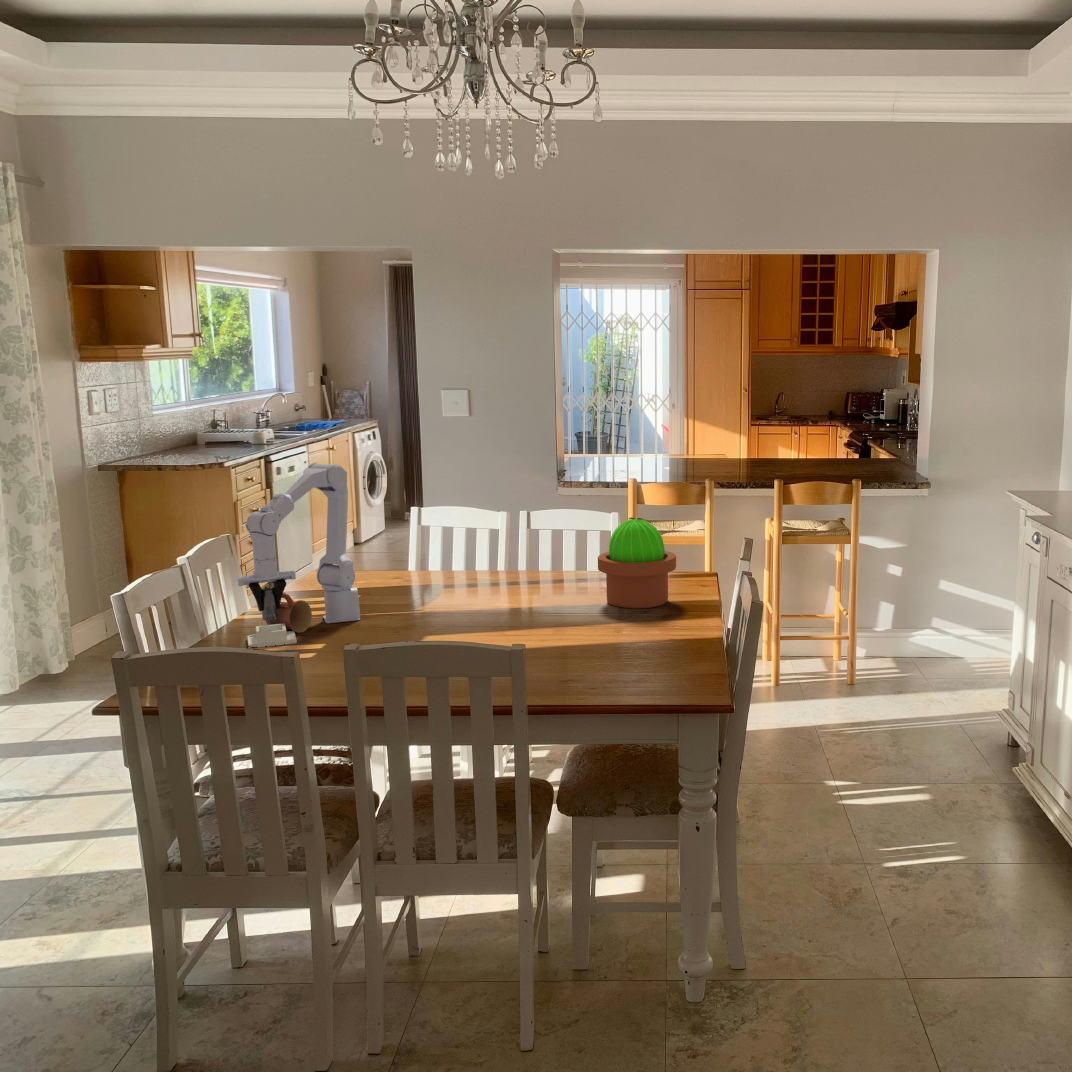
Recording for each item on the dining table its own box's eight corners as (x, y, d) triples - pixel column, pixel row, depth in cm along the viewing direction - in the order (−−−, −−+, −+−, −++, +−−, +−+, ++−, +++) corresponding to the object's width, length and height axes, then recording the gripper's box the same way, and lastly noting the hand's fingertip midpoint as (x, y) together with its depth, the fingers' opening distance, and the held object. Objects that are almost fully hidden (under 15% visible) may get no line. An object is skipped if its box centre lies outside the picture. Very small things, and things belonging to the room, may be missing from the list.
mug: (288, 617, 279) (316, 618, 274) (269, 637, 273) (298, 639, 268) (270, 583, 273) (298, 584, 268) (251, 603, 267) (279, 604, 262)
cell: (279, 616, 262) (276, 583, 260) (274, 620, 258) (272, 587, 257) (265, 616, 262) (262, 583, 261) (260, 620, 258) (257, 587, 257)
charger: (294, 634, 267) (293, 621, 267) (296, 643, 259) (295, 630, 258) (247, 639, 264) (246, 626, 263) (248, 648, 255) (247, 635, 255)
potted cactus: (650, 615, 275) (649, 525, 271) (584, 605, 288) (582, 519, 284) (689, 598, 292) (688, 513, 288) (625, 589, 305) (624, 508, 301)
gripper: (289, 552, 264) (293, 602, 266) (233, 558, 258) (237, 609, 260) (295, 556, 258) (299, 607, 260) (238, 563, 252) (242, 615, 254)
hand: (269, 609), depth 260 cm, fingers closed on cell, 4 cm apart
